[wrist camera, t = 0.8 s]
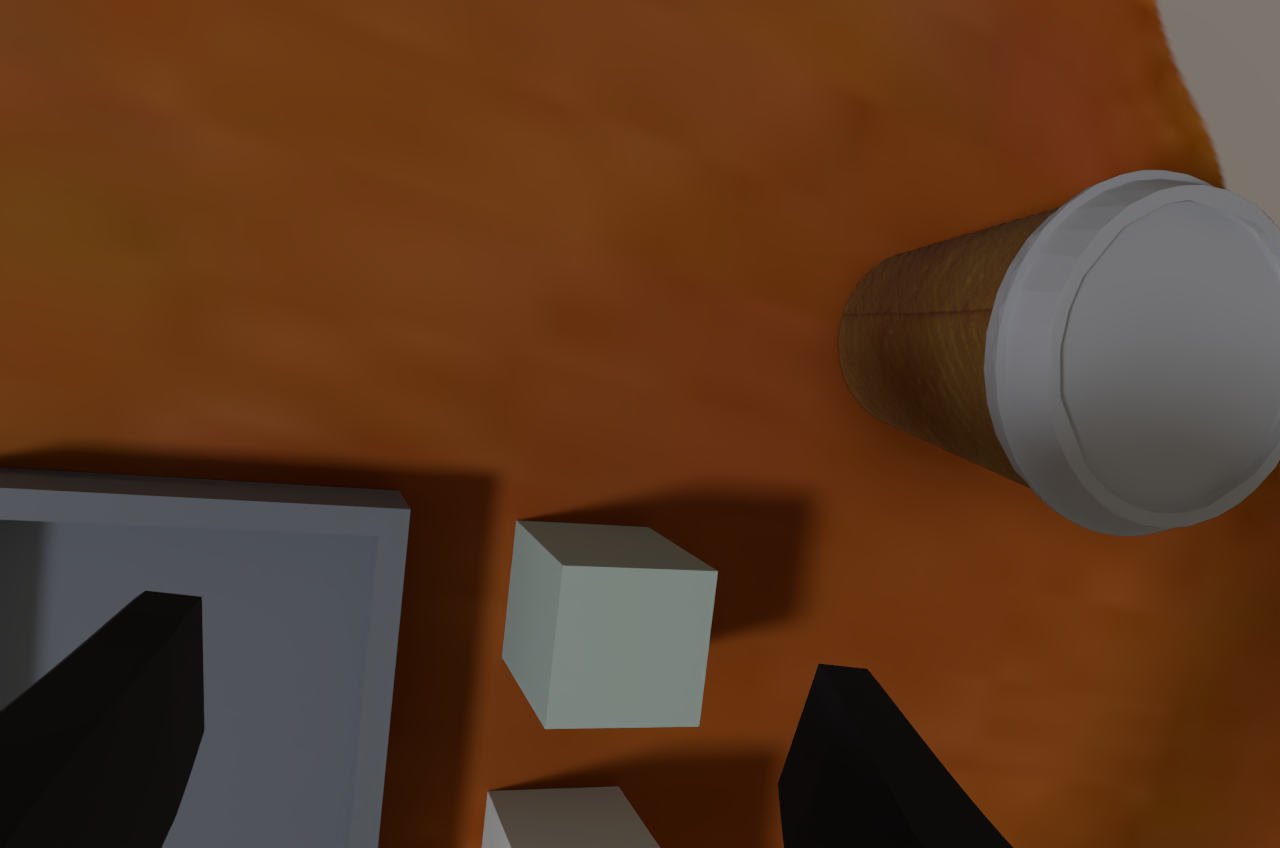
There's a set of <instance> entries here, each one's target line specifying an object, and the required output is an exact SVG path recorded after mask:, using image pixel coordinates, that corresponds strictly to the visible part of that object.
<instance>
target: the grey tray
mask: <svg viewBox="0 0 1280 848" xmlns="http://www.w3.org/2000/svg"><path fill="white" fill-rule="evenodd" d="M410 511H411V509H410V507H409V506H408V504H407V502H406V501H405V499H404V497H403V496H402V494H401V492H400V491H398V490H381V489H363V488H346V487H329V486H312V485H295V484H278V483H260V482H243V481H226V480H209V479H192V478H174V477H157V476H140V475H123V474H106V473H89V472H71V471H54V470H37V469H20V468H3V467H0V711H1V710H2V709H3V708H4V707H6V706H7V705H8V704H9V703H10V702H12V701H13V700H14V699H15V698H17V697H18V696H19V695H20V694H22V693H23V692H24V691H25V690H27V689H28V688H29V687H30V686H32V685H33V684H34V683H35V682H37V681H38V680H39V679H40V678H42V677H43V676H44V675H45V674H46V673H48V672H49V671H50V670H51V669H53V668H54V667H55V666H56V665H57V664H58V663H60V662H61V661H62V660H63V659H64V658H66V657H67V656H68V655H69V654H70V653H71V652H73V651H74V650H75V649H76V648H77V647H79V646H80V645H81V644H82V643H83V642H84V641H86V640H87V639H88V638H89V637H90V636H91V635H93V634H94V633H95V632H96V631H97V630H98V629H99V628H101V627H102V626H103V625H104V624H105V623H106V622H108V621H109V620H110V619H111V618H112V617H113V616H114V615H116V614H117V613H118V612H119V611H120V610H121V609H123V608H124V607H125V606H126V605H127V604H128V603H130V602H131V601H132V600H133V599H134V598H135V597H137V596H138V595H140V594H141V593H143V592H144V591H154V592H164V593H173V594H182V595H191V596H200V597H202V625H203V674H204V724H205V731H204V734H203V737H202V740H201V743H200V746H199V750H198V753H197V756H196V759H195V762H194V765H193V768H192V771H191V774H190V777H189V780H188V783H187V786H186V789H185V792H184V795H183V798H182V801H181V804H180V807H179V809H178V812H177V815H176V817H175V820H174V822H173V824H172V826H171V828H170V831H169V833H168V835H167V837H166V839H165V841H164V844H163V846H162V848H378V842H379V831H380V821H381V811H382V800H383V790H384V780H385V769H386V759H387V749H388V738H389V728H390V718H391V707H392V697H393V687H394V676H395V666H396V656H397V645H398V635H399V625H400V614H401V604H402V594H403V583H404V573H405V563H406V552H407V542H408V532H409V521H410Z"/></svg>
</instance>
